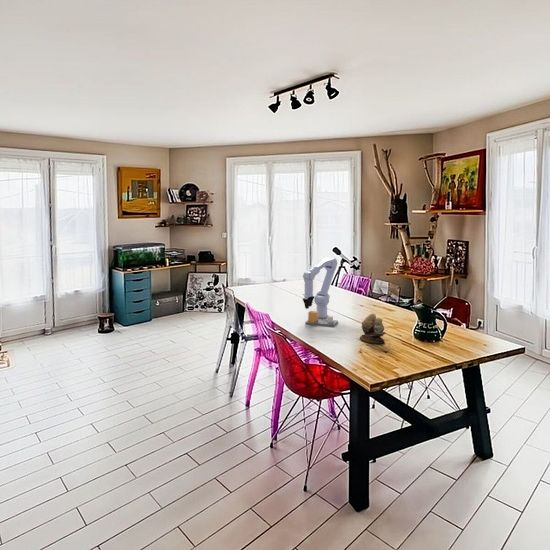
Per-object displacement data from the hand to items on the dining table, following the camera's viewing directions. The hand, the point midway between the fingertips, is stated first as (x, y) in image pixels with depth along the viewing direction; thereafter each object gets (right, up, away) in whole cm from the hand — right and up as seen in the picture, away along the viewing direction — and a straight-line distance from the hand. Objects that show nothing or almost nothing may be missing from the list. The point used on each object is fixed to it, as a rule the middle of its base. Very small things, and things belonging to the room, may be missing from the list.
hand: (308, 307), depth 308 cm
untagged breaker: (+14, -10, -9) cm, 20 cm away
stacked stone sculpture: (+35, -17, -47) cm, 61 cm away
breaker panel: (+9, -11, -7) cm, 15 cm away
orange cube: (+3, -9, -5) cm, 10 cm away
